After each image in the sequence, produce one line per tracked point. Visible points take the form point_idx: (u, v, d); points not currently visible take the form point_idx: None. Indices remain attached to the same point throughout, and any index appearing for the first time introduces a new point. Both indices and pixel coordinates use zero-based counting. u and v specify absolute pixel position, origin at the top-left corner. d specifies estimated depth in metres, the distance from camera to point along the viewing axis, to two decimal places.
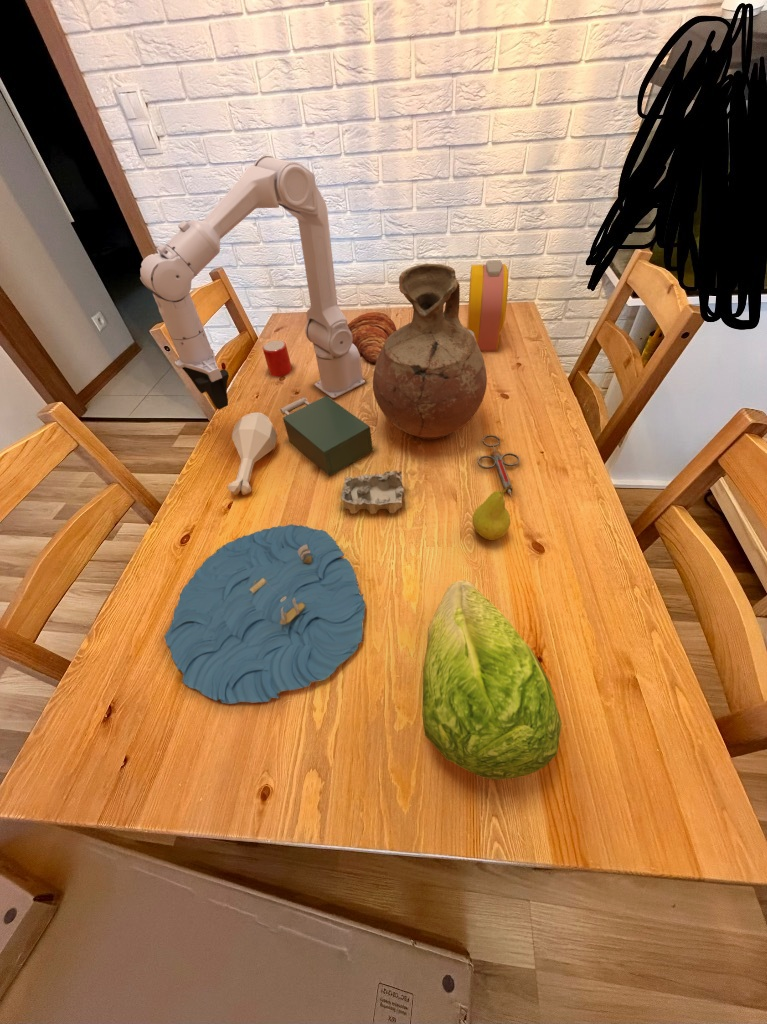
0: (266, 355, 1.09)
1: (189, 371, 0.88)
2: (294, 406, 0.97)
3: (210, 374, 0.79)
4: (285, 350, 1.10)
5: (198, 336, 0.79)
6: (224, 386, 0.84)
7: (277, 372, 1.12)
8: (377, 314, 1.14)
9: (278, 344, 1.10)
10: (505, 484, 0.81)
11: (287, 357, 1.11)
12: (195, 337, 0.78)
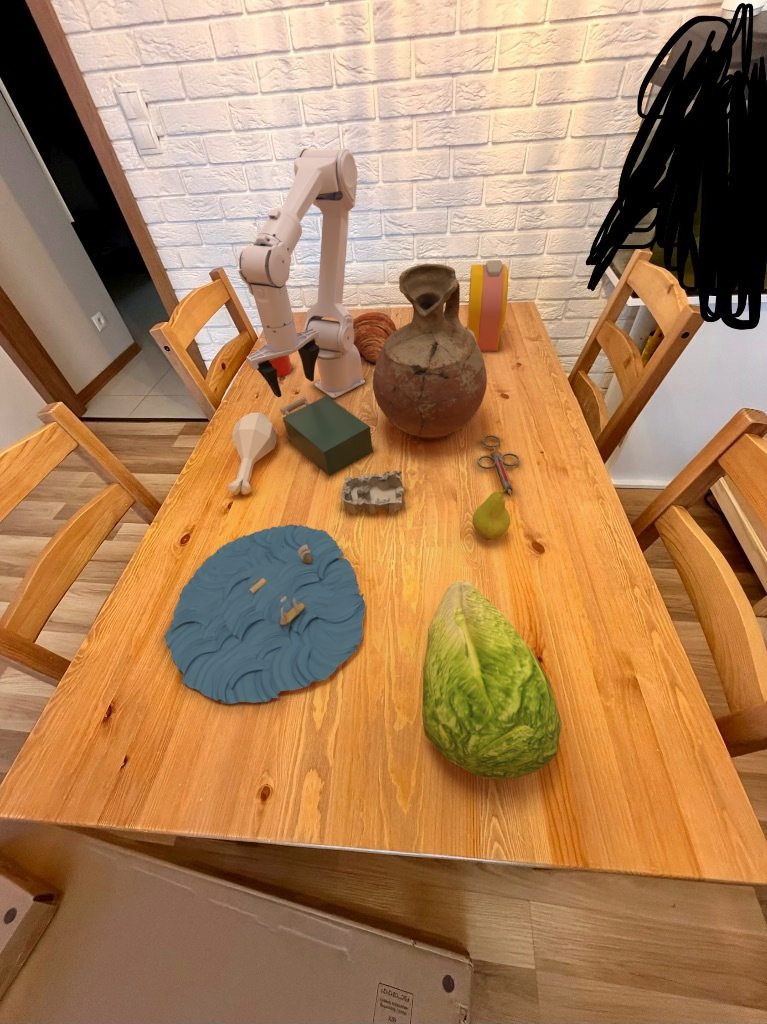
0: None
1: (301, 354, 0.90)
2: (294, 406, 0.97)
3: (247, 359, 0.83)
4: None
5: (267, 328, 0.80)
6: (269, 380, 0.86)
7: (277, 372, 1.12)
8: (377, 314, 1.14)
9: None
10: (505, 484, 0.81)
11: (287, 357, 1.11)
12: (264, 327, 0.81)
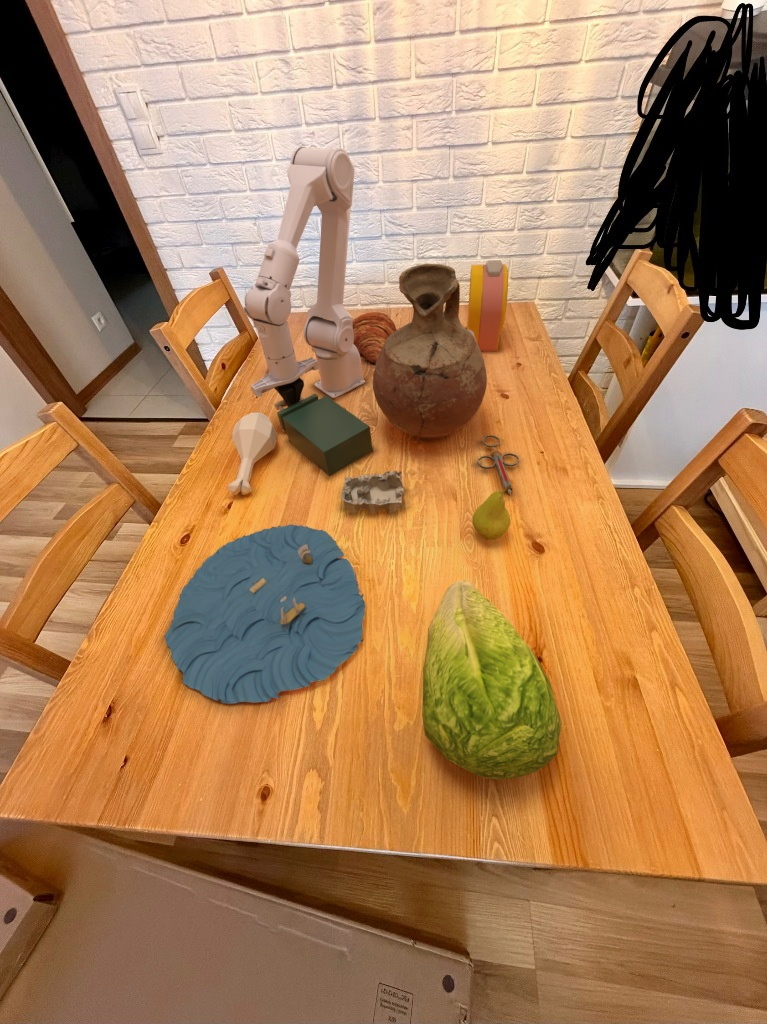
0: None
1: None
2: None
3: (251, 387, 0.90)
4: None
5: (269, 360, 0.87)
6: (286, 399, 0.94)
7: None
8: (377, 314, 1.14)
9: None
10: (505, 484, 0.81)
11: None
12: (267, 359, 0.87)
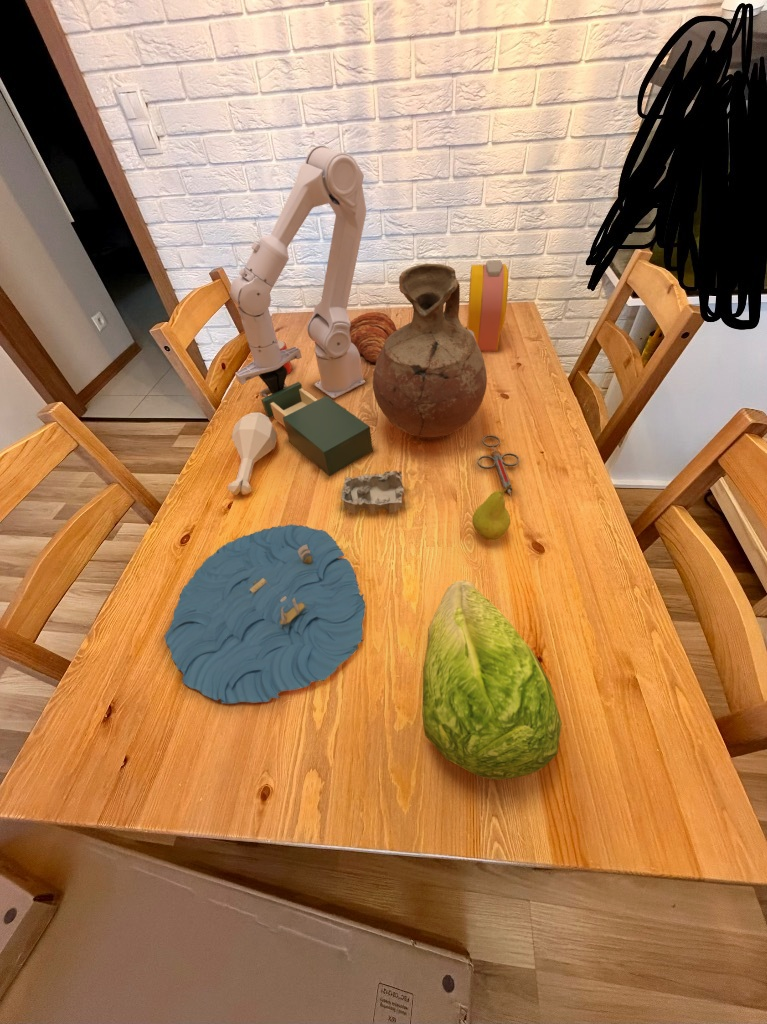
0: None
1: None
2: None
3: (236, 375, 0.94)
4: None
5: (253, 348, 0.91)
6: (270, 386, 0.98)
7: None
8: (377, 314, 1.14)
9: (278, 344, 1.10)
10: (505, 484, 0.81)
11: None
12: (251, 347, 0.91)
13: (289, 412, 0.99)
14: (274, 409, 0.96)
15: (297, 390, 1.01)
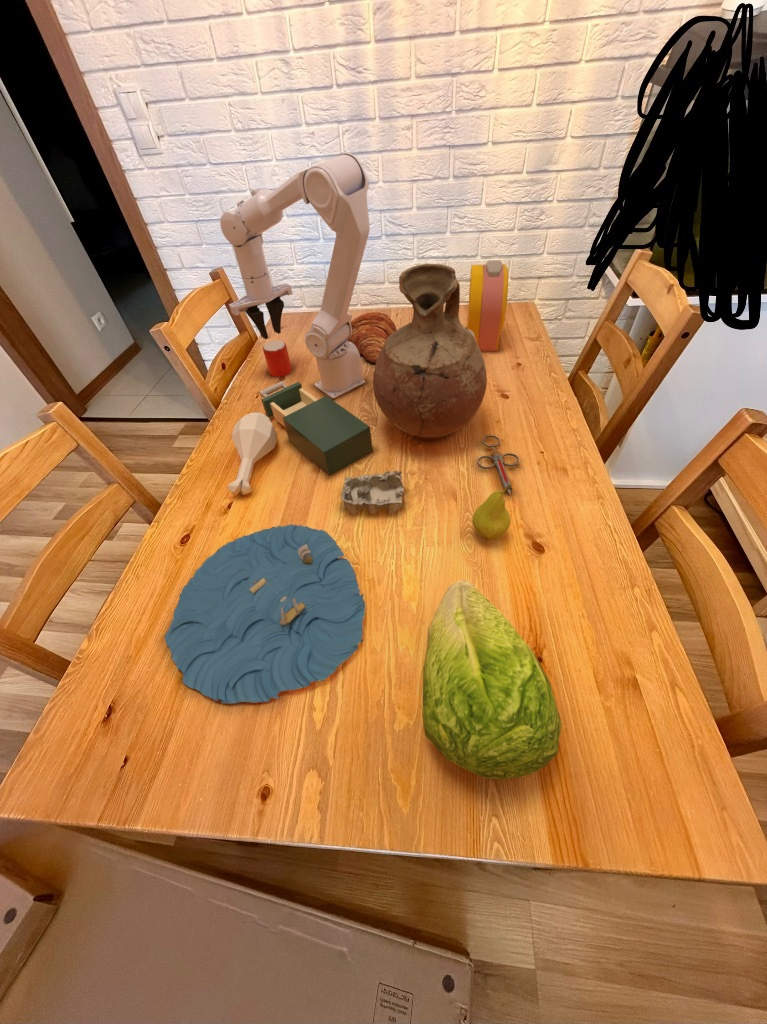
0: (266, 355, 1.09)
1: (269, 309, 1.05)
2: (273, 389, 1.02)
3: (230, 306, 0.99)
4: (285, 350, 1.10)
5: (245, 279, 0.96)
6: (257, 322, 1.02)
7: (277, 372, 1.12)
8: (377, 314, 1.14)
9: (278, 344, 1.10)
10: (505, 484, 0.81)
11: (287, 357, 1.11)
12: (244, 278, 0.96)
13: (289, 412, 0.99)
14: (274, 409, 0.96)
15: (297, 390, 1.01)
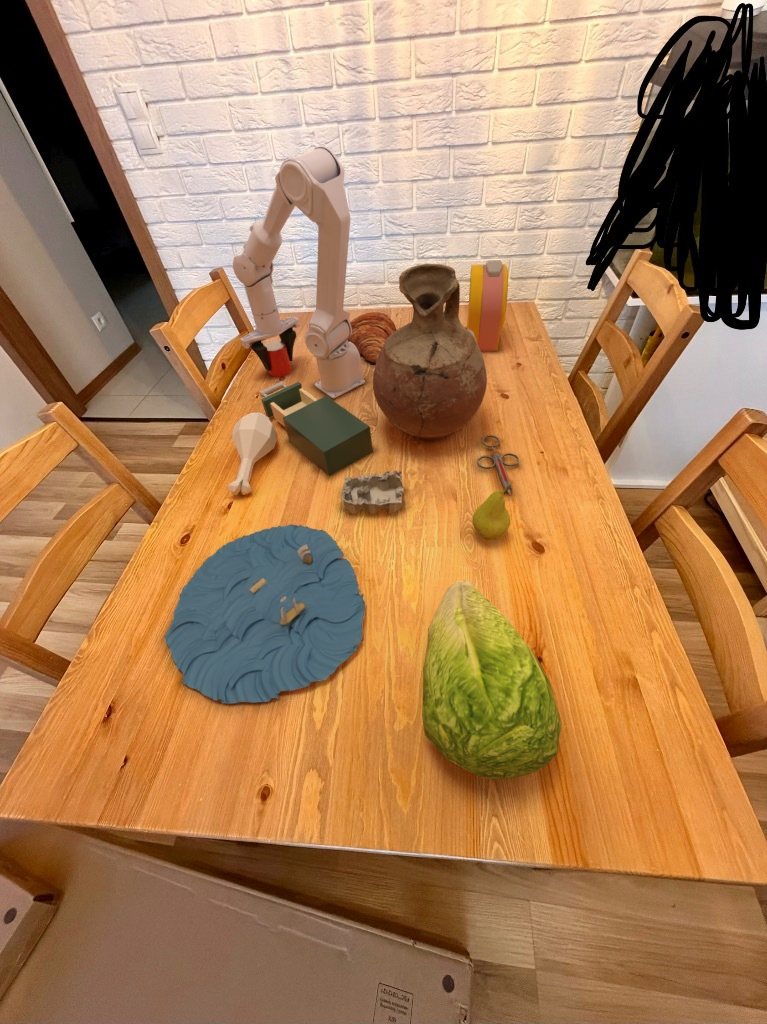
0: None
1: (282, 338, 1.12)
2: (273, 389, 1.02)
3: None
4: (285, 350, 1.10)
5: (256, 315, 1.02)
6: (261, 356, 1.08)
7: (277, 372, 1.12)
8: (377, 314, 1.14)
9: (278, 344, 1.10)
10: (505, 484, 0.81)
11: (287, 357, 1.11)
12: (254, 314, 1.02)
13: (289, 412, 0.99)
14: (274, 409, 0.96)
15: (297, 390, 1.01)
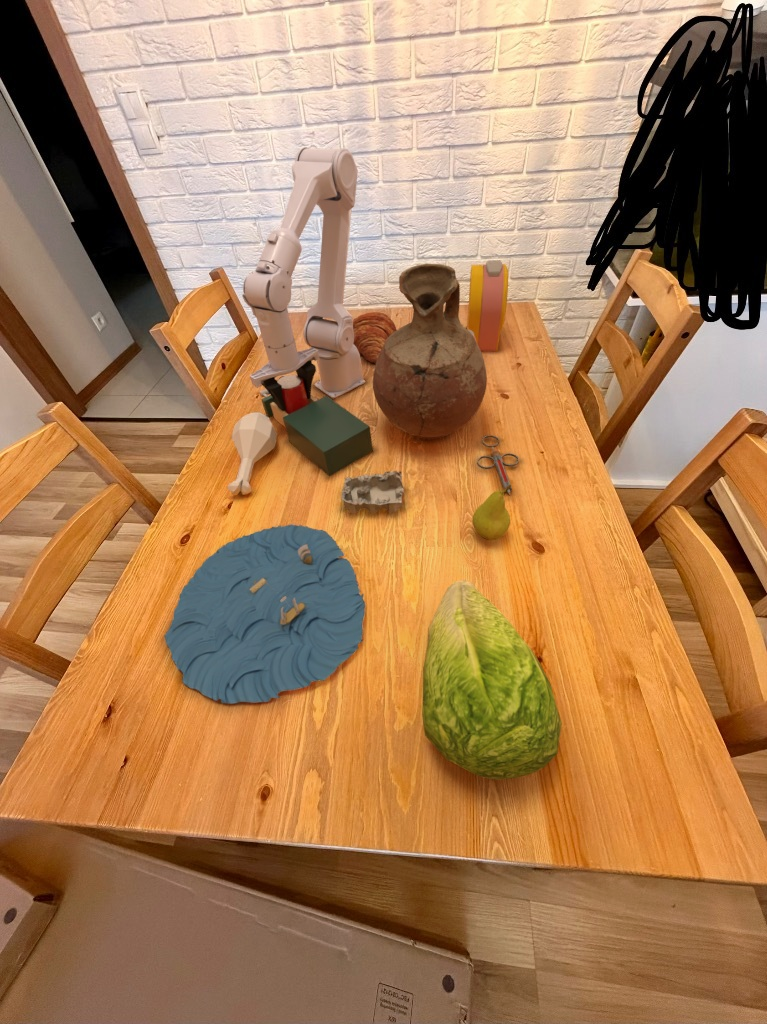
0: None
1: (298, 373, 0.94)
2: None
3: (250, 377, 0.87)
4: (302, 387, 0.92)
5: (269, 349, 0.85)
6: (274, 395, 0.90)
7: None
8: (377, 314, 1.14)
9: (294, 380, 0.92)
10: (504, 484, 0.81)
11: (304, 395, 0.94)
12: (267, 347, 0.85)
13: None
14: (274, 409, 0.96)
15: None
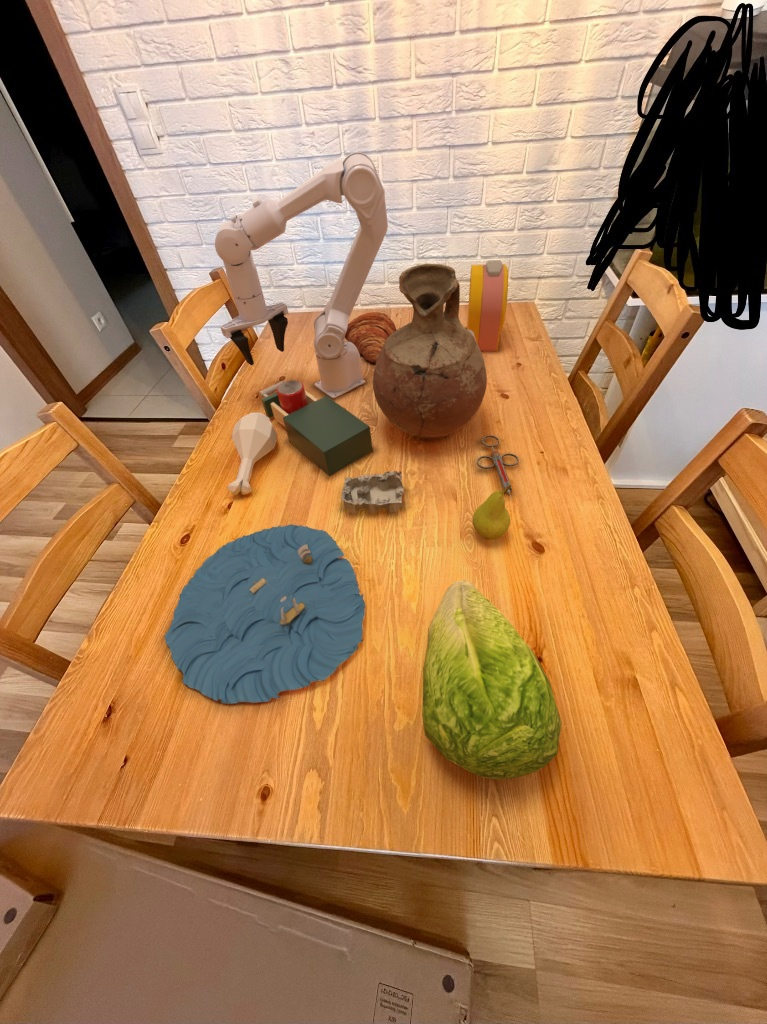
0: (280, 399, 0.93)
1: (272, 326, 1.00)
2: (273, 389, 1.02)
3: (221, 328, 0.92)
4: (303, 393, 0.93)
5: (238, 300, 0.89)
6: (241, 348, 0.95)
7: None
8: (377, 314, 1.14)
9: (294, 385, 0.93)
10: (504, 484, 0.81)
11: (305, 400, 0.95)
12: (236, 299, 0.90)
13: None
14: (274, 409, 0.96)
15: None
